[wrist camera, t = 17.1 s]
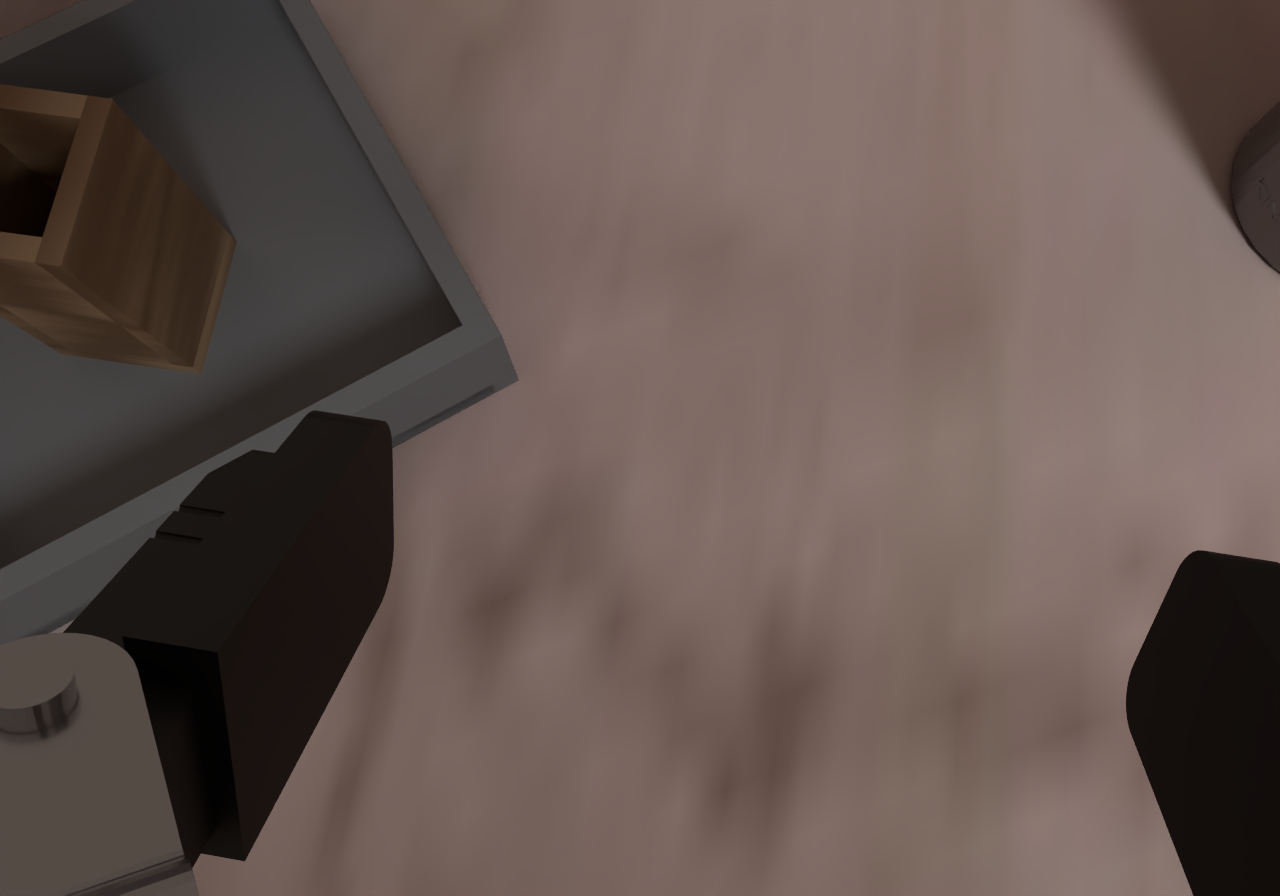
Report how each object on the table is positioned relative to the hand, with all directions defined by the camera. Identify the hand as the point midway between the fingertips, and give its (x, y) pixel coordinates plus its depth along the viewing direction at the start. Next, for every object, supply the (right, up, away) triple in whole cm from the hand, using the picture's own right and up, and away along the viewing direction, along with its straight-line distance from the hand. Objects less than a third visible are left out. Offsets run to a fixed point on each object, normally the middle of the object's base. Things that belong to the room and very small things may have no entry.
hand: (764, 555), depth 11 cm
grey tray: (-21, +7, +32) cm, 38 cm away
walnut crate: (-21, +7, +31) cm, 37 cm away
